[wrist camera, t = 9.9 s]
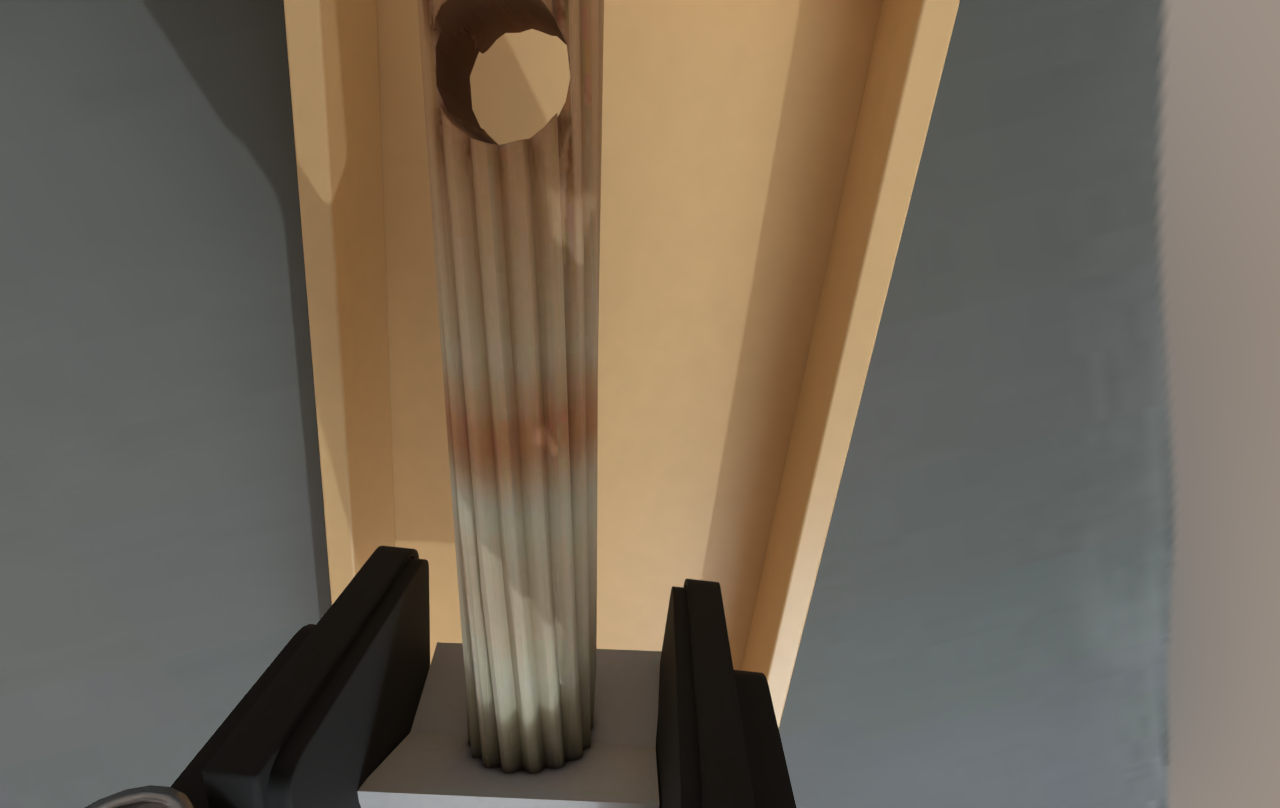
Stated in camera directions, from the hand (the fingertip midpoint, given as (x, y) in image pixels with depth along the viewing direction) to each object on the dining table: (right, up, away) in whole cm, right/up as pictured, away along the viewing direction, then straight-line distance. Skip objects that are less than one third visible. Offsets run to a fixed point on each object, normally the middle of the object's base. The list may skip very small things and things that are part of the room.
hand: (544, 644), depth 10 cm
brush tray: (0, +2, +6) cm, 6 cm away
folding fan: (0, 0, 0) cm, 0 cm away
